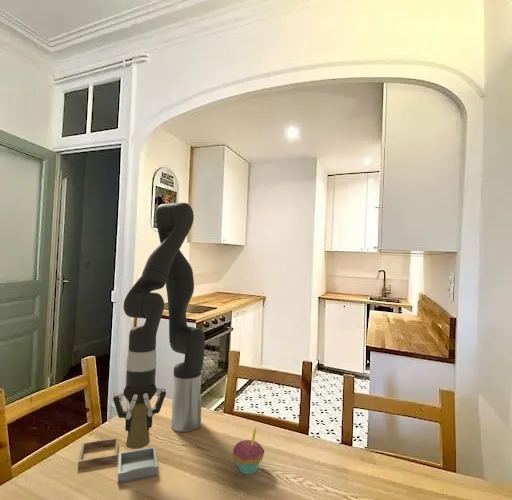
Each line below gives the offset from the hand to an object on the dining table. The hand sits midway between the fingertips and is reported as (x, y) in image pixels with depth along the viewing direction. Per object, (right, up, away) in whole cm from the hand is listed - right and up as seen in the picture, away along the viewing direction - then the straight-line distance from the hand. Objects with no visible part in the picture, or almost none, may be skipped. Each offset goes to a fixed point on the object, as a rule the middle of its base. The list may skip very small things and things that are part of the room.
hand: (138, 430), depth 90 cm
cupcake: (+29, -11, +1) cm, 32 cm away
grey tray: (0, -10, 0) cm, 10 cm away
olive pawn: (0, -3, 0) cm, 3 cm away
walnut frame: (-13, -10, +5) cm, 17 cm away
